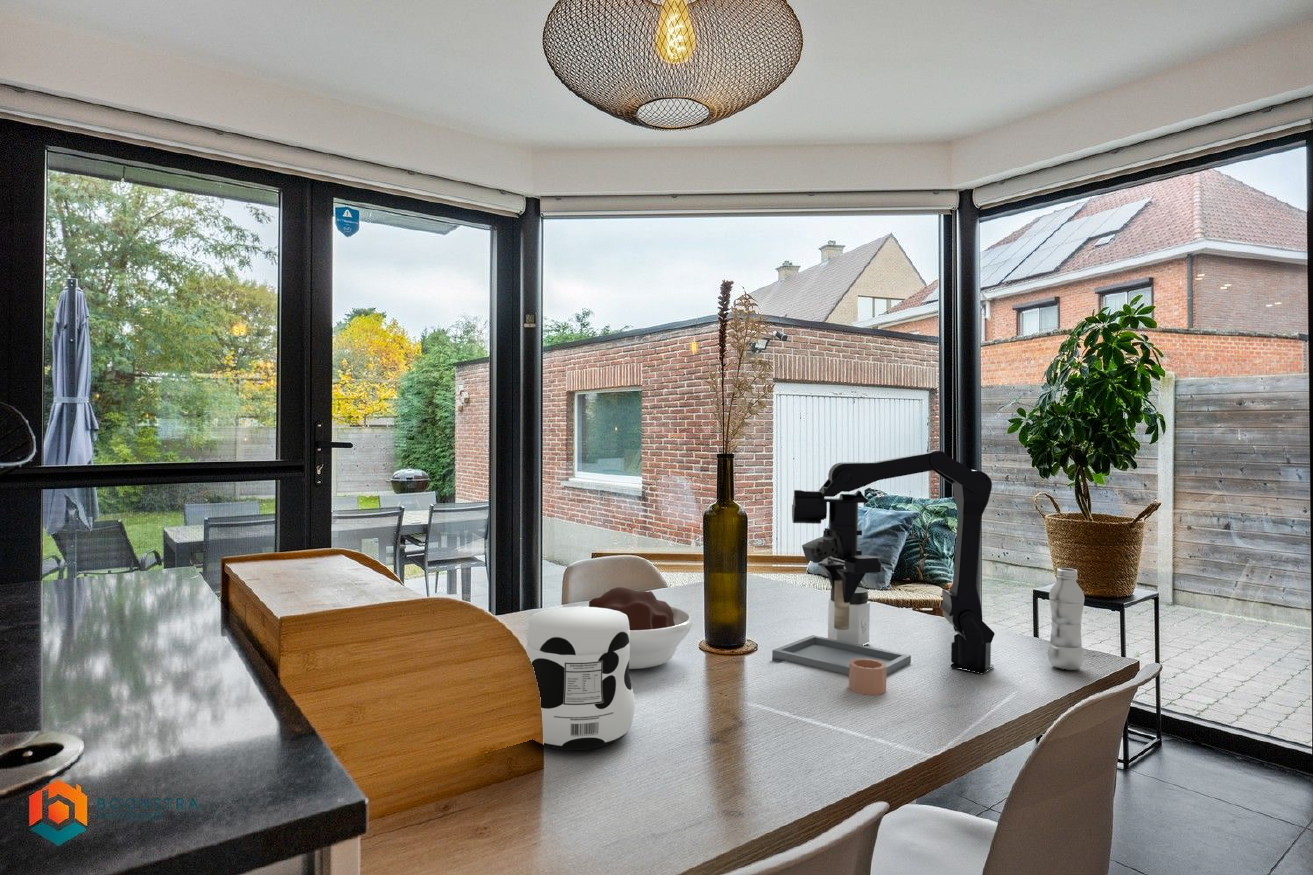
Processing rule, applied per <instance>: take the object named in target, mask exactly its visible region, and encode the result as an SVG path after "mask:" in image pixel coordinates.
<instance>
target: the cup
mask: <svg viewBox="0 0 1313 875" xmlns="http://www.w3.org/2000/svg"><path fill="white" fill-rule="evenodd" d="M886 672H887V666H886V664H885V663H883V662H881V661H877V660H873V659H862V658H861V659H853V660H851V661H849V676H848V689H849V690H851V691H852V692H854V693H857V694H861V695H867V696H868V695H869V696H870V695H871V696H878V695H882V694H885V693H887V676H886Z"/></svg>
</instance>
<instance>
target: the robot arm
mask: <svg viewBox="0 0 1313 875" xmlns="http://www.w3.org/2000/svg"><path fill="white" fill-rule="evenodd" d="M932 471H933V472H935V473H936V474H937V475H939V476H940V477H942V479H943V480H945V481H946V482H948V483H949V484H951V485H952V491H953V499H954V503H955V506H956V511H957V522H956V525H957V526H956V538H955V551H954V552H955V554H954V568H953V581H952V584H951V586H950V589H949V590H947V589H942V591H941V597H942V603H941V605H940V610H942V612H943V616H944V618H945V620H946V621H947V622H948V623H949V624H950V625H951V626H952V628H953V630H954V632H955V633H956V634H954V636H953V641H952V642H951V644H950V645H951V648H950V650H951V651H950V653H951V654H950V661H951V664H950V666H951V667H954V668H953V669H956V668H962V669H967V670H970V671H975V672H979V673H978V674H980V673H984V674H986V673H987V672H988V671H987V670H989V669H990V668H992V667H993V668H994V664H991V658H992V657H991V655H992V649H991V648H992V646H991V645H992V642H993V639H994V637H995V632H994V630H992V629H991V627H989V626H988V625H987V624H986V623H985V622H984V621H983V612H982V603H981V598H980V594H979V592H978V591H979V590H978V586H977V585H978V584H977V583H978V573H979V572H978V569H979V555H980V546H981V545H980V541H981V530H982V528H981V527H982V518H983V517H982V516H983V514H984V512H985V510H986V509H987V505H988V503H989V500H990V497H991V493H992V489H993V483H992V482H993V481H992V479H991V477H990V476H989V475H988V474H987V473H986V472H984V471H980V470H975V469H971V468H969V467H968V466H967V465H965V464H963V463H961V462H959V461H958V460H956V459H954V458H953V457H950V456H949V455H948V454H947V453H946V452H944V451H942V450H938V449H937V450H935V449H933V450H932V449H931V450H928V451H926V452H921V453H917V454H911V455H905V456H900V457H894V458H889V459H885V460H884V459H883V460H879V461H873V462H867V461H866V462H863V461H862V462H859V461H857V462H847V461H846V462H845V461H844V462H837V463H835V464H833V465H832V466H831V468H830V469H829V471H828V474H827V476H828V479H827V480H826V481H825V482H824V484H823V485H822V486H821V487H820V488H819V489H818V490H816V491H815V490H802V489H794V490H793V499H792V504H791V520H792V523H793V524H810V525H811V524H817V525H819V524H820V525H821V524H822V521H824V520H826V519H827V515H828V528H827V527H826V528H824V529H823V530H822V531H823V533H822V534H823V535H822V536H820V537H817V538H815V539H812V540H810V541H808V542H806V543H803V544H802V545H801V548H802V551H803V553H804V554H803V555H804V557H805V561H807V562H812V563H814V564H817V565H818V566H819V567H820V568H822V569H823V570H824V571H825V572H826V574H827V577H828V580H829V583H830V586H831V588H832V590H833V593H834V594H835V580H842V588H843V598H844V602H845V603H849V602H850V601H851V599H852V597H853V595H854V593H855V591H856V589H857V587H859V585H860V583H861V582H862V580H863V578H864V577H865V575H866V574H873V573H874V574H875V573H876V574H877V573H882V569H883V568H882V566H883V565H882V563H883V562H882V561H881V560H880V558H878V557H877V556H873V555H869V554H867V555H865V554H863V551H862V550H861V549H858V542H859V541H858V539H859V538H858V537H859V536H863V530H862V529H858V528H859V525H858V524H859V504H868V503H869V499H868V498H867V497H866V496H864V495H863V493H862V491H861V490H858V489H860V488H863V487H866V486H868V485H870V484H873V483H874V482H875V483H876V482H878V481H882V480H887V479H892V478H897V477H898V478H899V477H904V476H909V475H915V474H921V473H925V472H926V473H927V472H932ZM855 490H856V492H855V493H854V494H853V493H849V492H853V491H855ZM842 492H844V493H842ZM837 495H839V498H838V497H837V498H834V497H836V496H837ZM826 497H827V498H826ZM829 497H830V498H829ZM831 497H832V498H831ZM828 505H829V507H828ZM951 667H950V668H951ZM993 668H992V669H993ZM990 670H991V669H990ZM990 670H989V671H990ZM970 671H969V672H970ZM986 671H987V672H986ZM975 672H974V673H975ZM985 672H986V673H985Z"/></svg>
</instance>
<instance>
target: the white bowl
mask: <svg viewBox="0 0 1313 875" xmlns="http://www.w3.org/2000/svg"><path fill="white" fill-rule="evenodd" d="M584 607H597V608H606V609H612V610H616V611H620V612H622V613H624V614H626V615H627V617H628V620H629V628H630V641H629V644H630V655H629V670H635V669H636V670H637V669H639V670H640V669H648V668H653V667H657V666H660V665H664V664H665V663H668V662H669V661H670V660H671V659H672V658H673V657H674V655H675V653H676V651H677V650H678V649H677V648H678V646H679V644H680V643H681V642H682V641H683V640H684V639H685V638H686V637H687V635H688V633H690V630H691V628H692V627H693V626H692V625H693V618H692V616H691V615H690V613H689V612H687V611H685V610H683V609H681V608H678V607H676V606H672V605H670V604H668V602H667V601H664V600H659V599H657V597H656V595H655V593H653V592H652V591H651V590H650V591H645V590H644V591H642V590H641V591H637V590H633V589H630V588H627V587H623V586H622V587H621V586H619V587H618V586H617V587H613V588H611V589H609V590H608V591H606V592H604V593H603V594H602V595H601V596H599V597H595V598H593V599H591V600H589V602H588V605H587V606H584Z"/></svg>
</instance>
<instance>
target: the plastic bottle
mask: <svg viewBox="0 0 1313 875" xmlns="http://www.w3.org/2000/svg"><path fill="white" fill-rule="evenodd" d="M1078 578H1079V577H1078V570H1077V569H1076V568H1075V569H1074V568H1069V567H1058V568H1057V569H1056V579H1057V581H1056V582H1055V583H1054V584H1053V586H1052V587H1051V588H1050V591H1049V593H1048V598H1049V606H1050V612H1051V613H1050V614H1051V616H1050V618H1051V631H1050V639H1049V640H1050V643H1049V644H1048V649H1047V657H1048V661H1049V663H1050V665H1051V666H1052V667H1054V668H1057V669H1061V670H1064V669H1066V670H1065V671H1076V670H1077V671H1078V670H1080V669H1081V668H1082V667H1083V664H1084V660H1085V657H1084V656H1085V655H1084V654H1085V653H1084V648H1083V644H1082V631H1081V630H1082V625H1081V624H1082V618H1083V611H1084V606H1085V599H1086V598H1085V594H1084V591H1083V590H1082V588H1081V587H1080V585H1079V584H1078V583H1077V580H1078Z"/></svg>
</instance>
